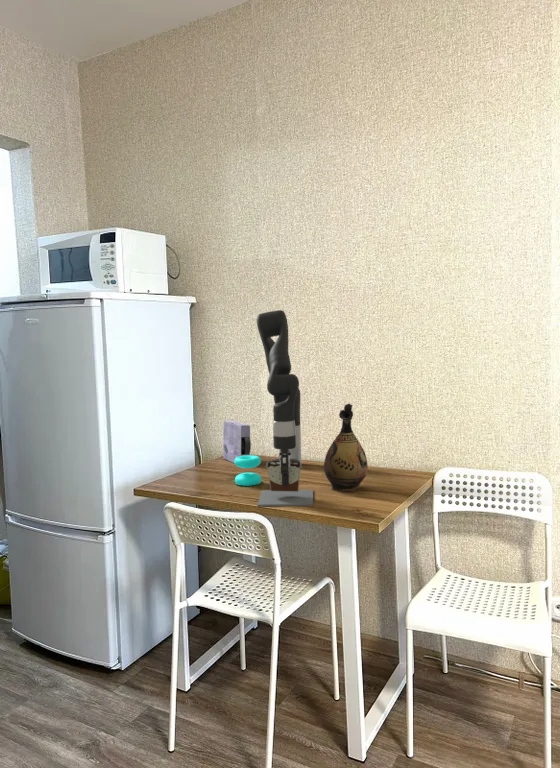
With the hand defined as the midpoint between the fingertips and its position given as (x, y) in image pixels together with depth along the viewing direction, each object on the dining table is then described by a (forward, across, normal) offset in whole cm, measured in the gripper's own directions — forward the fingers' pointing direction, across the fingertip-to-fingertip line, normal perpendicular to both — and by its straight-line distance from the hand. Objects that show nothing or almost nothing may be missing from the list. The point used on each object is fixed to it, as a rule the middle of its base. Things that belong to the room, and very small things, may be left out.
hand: (285, 483), depth 204 cm
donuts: (+5, +22, +15) cm, 27 cm away
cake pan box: (+6, +61, +24) cm, 65 cm away
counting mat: (+5, 0, 0) cm, 5 cm away
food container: (+2, +1, 0) cm, 2 cm away
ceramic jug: (+5, +13, -21) cm, 25 cm away
